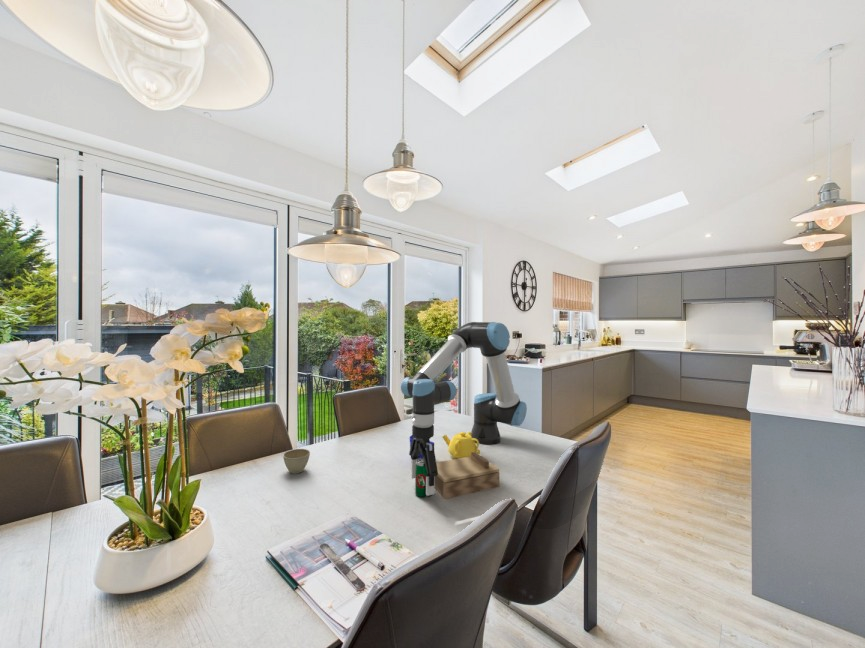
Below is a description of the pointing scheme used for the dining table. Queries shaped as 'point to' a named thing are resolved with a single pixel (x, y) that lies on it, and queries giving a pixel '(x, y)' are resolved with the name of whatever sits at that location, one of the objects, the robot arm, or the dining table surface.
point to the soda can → (420, 478)
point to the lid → (464, 468)
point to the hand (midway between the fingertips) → (422, 485)
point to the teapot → (462, 445)
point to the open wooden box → (466, 485)
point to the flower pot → (296, 460)
